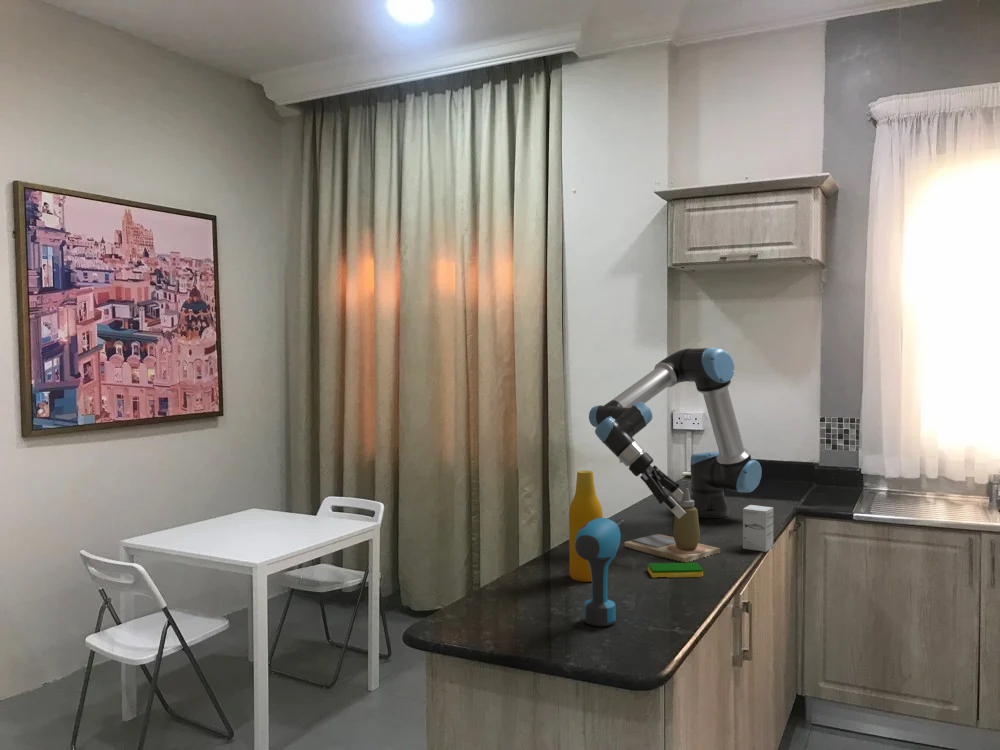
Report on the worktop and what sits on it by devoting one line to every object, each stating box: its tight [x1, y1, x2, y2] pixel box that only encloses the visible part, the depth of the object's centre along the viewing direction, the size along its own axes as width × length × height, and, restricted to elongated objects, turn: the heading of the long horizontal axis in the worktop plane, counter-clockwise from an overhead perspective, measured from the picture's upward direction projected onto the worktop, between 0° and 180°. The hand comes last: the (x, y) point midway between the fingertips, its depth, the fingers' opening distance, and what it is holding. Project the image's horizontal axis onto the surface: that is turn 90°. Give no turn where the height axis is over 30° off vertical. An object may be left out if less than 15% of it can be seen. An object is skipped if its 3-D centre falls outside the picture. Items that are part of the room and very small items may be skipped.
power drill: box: [575, 517, 625, 627], centre depth 178 cm, size 28×9×23 cm, turn 154°
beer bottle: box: [568, 470, 604, 583], centre depth 208 cm, size 9×9×29 cm
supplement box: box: [742, 504, 775, 553], centre depth 234 cm, size 7×7×13 cm
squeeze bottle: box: [672, 487, 701, 550], centre depth 229 cm, size 8×8×18 cm
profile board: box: [624, 533, 721, 563], centre depth 234 cm, size 16×24×2 cm, turn 36°
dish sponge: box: [647, 562, 704, 579], centre depth 210 cm, size 7×14×2 cm, turn 89°
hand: (686, 511), depth 229 cm, fingers open, 13 cm apart
